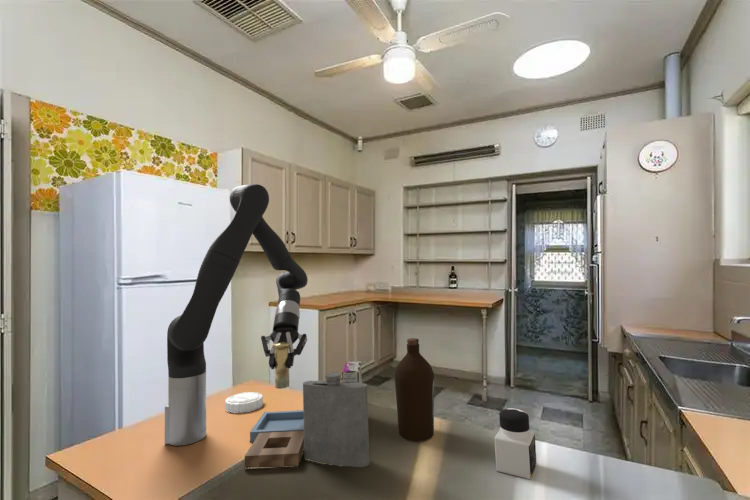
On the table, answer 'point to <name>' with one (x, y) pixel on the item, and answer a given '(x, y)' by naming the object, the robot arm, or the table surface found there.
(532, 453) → the medicine bottle
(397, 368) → the olive oil
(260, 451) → the walnut pin block
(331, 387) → the hip flask
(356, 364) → the candy bar box
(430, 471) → the table surface
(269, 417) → the slate tray
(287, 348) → the brass pin
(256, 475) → the table surface
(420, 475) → the table surface
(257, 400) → the mooncake
